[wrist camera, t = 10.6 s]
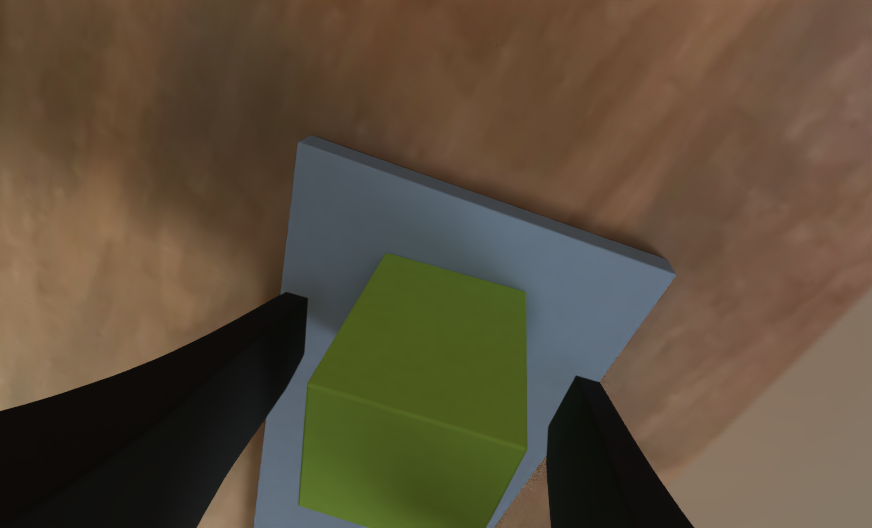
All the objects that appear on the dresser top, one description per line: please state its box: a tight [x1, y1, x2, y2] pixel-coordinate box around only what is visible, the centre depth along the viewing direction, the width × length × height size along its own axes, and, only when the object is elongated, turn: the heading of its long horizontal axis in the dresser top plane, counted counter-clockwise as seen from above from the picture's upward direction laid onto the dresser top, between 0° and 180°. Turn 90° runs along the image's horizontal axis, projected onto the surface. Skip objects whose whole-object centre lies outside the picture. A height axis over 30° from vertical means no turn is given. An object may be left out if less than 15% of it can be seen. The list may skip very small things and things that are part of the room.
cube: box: [298, 253, 528, 528], centre depth 10 cm, size 4×4×5 cm
